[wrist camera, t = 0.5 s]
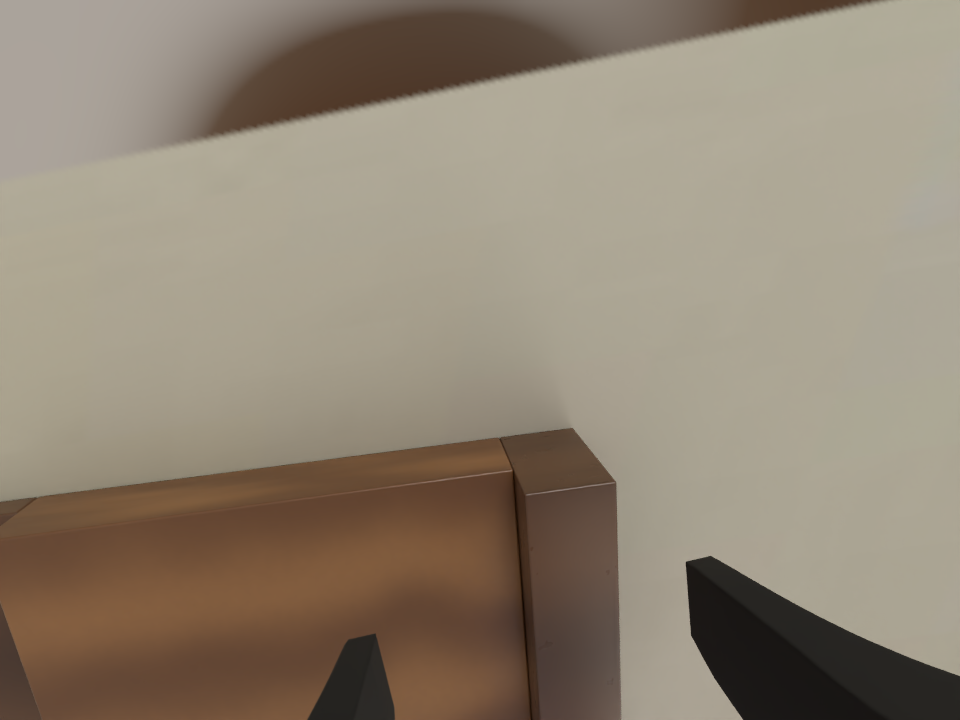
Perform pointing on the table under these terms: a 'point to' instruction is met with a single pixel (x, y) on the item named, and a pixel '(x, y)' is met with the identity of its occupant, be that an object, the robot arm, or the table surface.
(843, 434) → the table surface
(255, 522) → the step shelf
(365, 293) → the table surface
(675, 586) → the table surface
